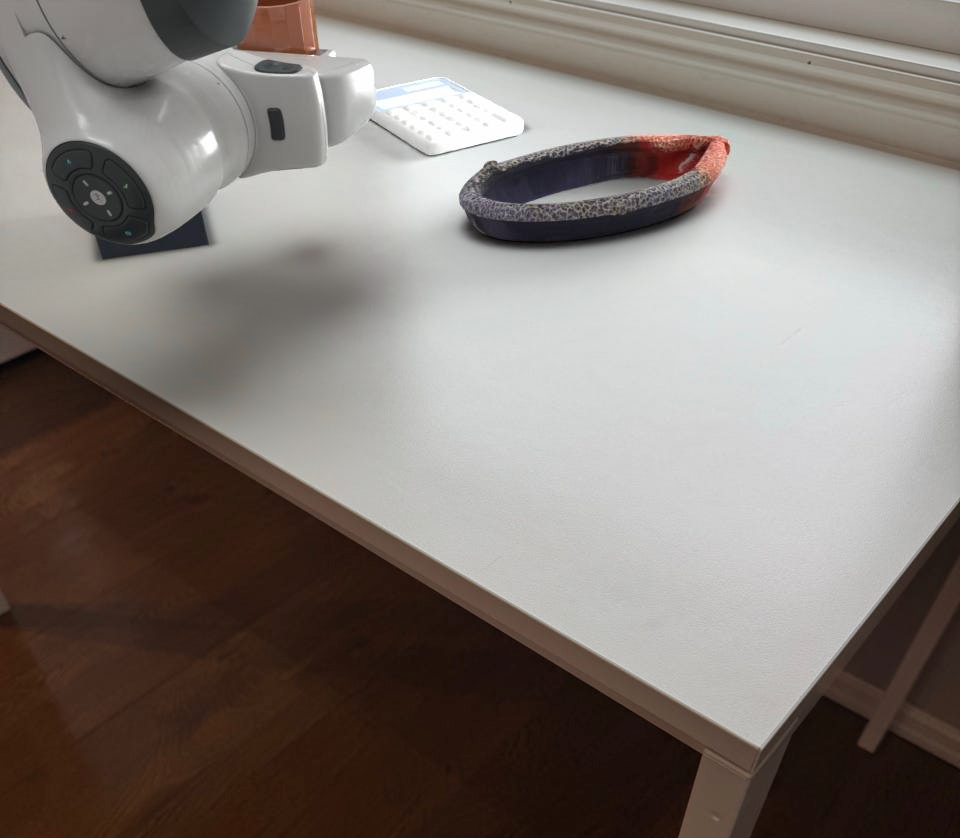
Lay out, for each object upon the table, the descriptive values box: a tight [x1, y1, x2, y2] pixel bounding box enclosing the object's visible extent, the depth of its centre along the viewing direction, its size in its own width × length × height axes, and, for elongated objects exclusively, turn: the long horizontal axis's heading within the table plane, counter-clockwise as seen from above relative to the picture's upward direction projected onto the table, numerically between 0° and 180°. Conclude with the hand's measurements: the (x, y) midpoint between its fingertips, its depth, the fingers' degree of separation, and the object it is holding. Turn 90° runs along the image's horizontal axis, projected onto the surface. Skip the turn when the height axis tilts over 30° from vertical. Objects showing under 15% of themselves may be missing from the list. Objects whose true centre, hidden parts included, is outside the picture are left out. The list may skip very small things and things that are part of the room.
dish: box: [458, 133, 731, 243], centre depth 97 cm, size 16×31×5 cm, turn 115°
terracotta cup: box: [236, 0, 320, 55], centre depth 81 cm, size 7×7×10 cm
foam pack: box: [94, 210, 210, 260], centre depth 96 cm, size 10×14×5 cm
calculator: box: [369, 76, 525, 156], centre depth 117 cm, size 13×20×2 cm, turn 31°
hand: (284, 56), depth 81 cm, fingers closed on terracotta cup, 7 cm apart
